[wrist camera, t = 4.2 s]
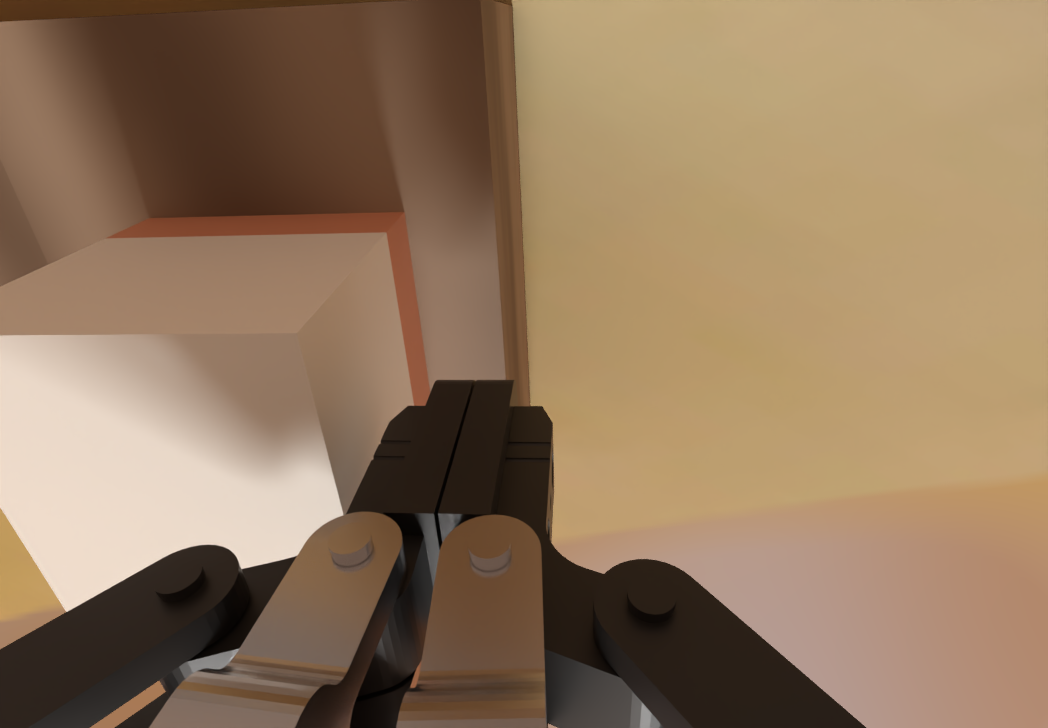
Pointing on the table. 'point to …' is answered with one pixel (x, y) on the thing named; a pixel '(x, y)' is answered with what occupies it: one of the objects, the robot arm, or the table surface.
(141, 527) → the cube
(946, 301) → the table surface
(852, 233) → the table surface
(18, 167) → the stair block
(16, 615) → the table surface
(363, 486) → the robot arm
